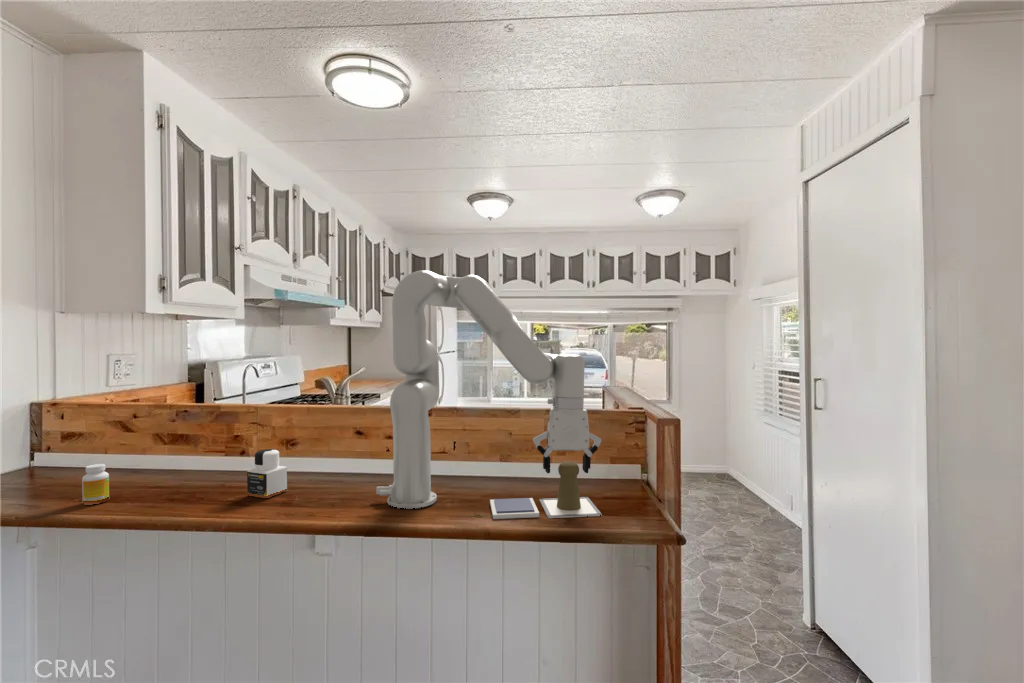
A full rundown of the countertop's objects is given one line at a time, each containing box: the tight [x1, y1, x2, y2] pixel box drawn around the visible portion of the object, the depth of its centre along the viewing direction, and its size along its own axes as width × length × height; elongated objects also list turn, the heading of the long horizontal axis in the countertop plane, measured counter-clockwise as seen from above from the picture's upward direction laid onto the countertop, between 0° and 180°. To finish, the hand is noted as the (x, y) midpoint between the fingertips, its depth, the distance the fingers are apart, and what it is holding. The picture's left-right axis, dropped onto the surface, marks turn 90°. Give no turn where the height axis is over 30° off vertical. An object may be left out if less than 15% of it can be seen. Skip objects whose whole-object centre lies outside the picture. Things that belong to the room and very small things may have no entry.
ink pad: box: [489, 497, 540, 520], centre depth 125 cm, size 11×11×1 cm
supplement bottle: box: [81, 463, 110, 502], centre depth 132 cm, size 5×5×10 cm
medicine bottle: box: [246, 448, 288, 496], centre depth 139 cm, size 7×7×12 cm
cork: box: [557, 461, 581, 511], centre depth 127 cm, size 6×6×11 cm
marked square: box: [538, 496, 603, 519], centre depth 127 cm, size 13×13×1 cm
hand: (566, 471), depth 127 cm, fingers open, 9 cm apart
